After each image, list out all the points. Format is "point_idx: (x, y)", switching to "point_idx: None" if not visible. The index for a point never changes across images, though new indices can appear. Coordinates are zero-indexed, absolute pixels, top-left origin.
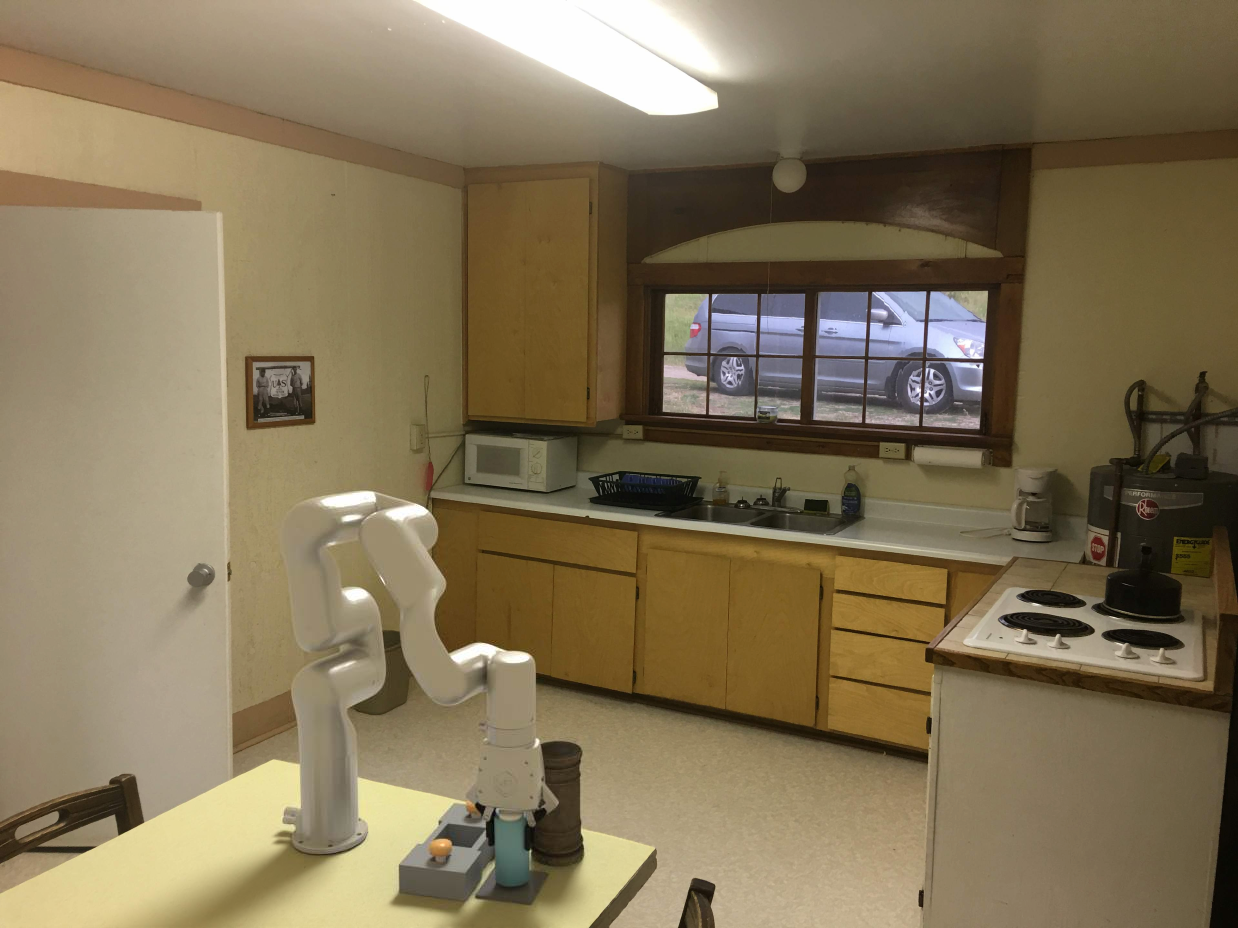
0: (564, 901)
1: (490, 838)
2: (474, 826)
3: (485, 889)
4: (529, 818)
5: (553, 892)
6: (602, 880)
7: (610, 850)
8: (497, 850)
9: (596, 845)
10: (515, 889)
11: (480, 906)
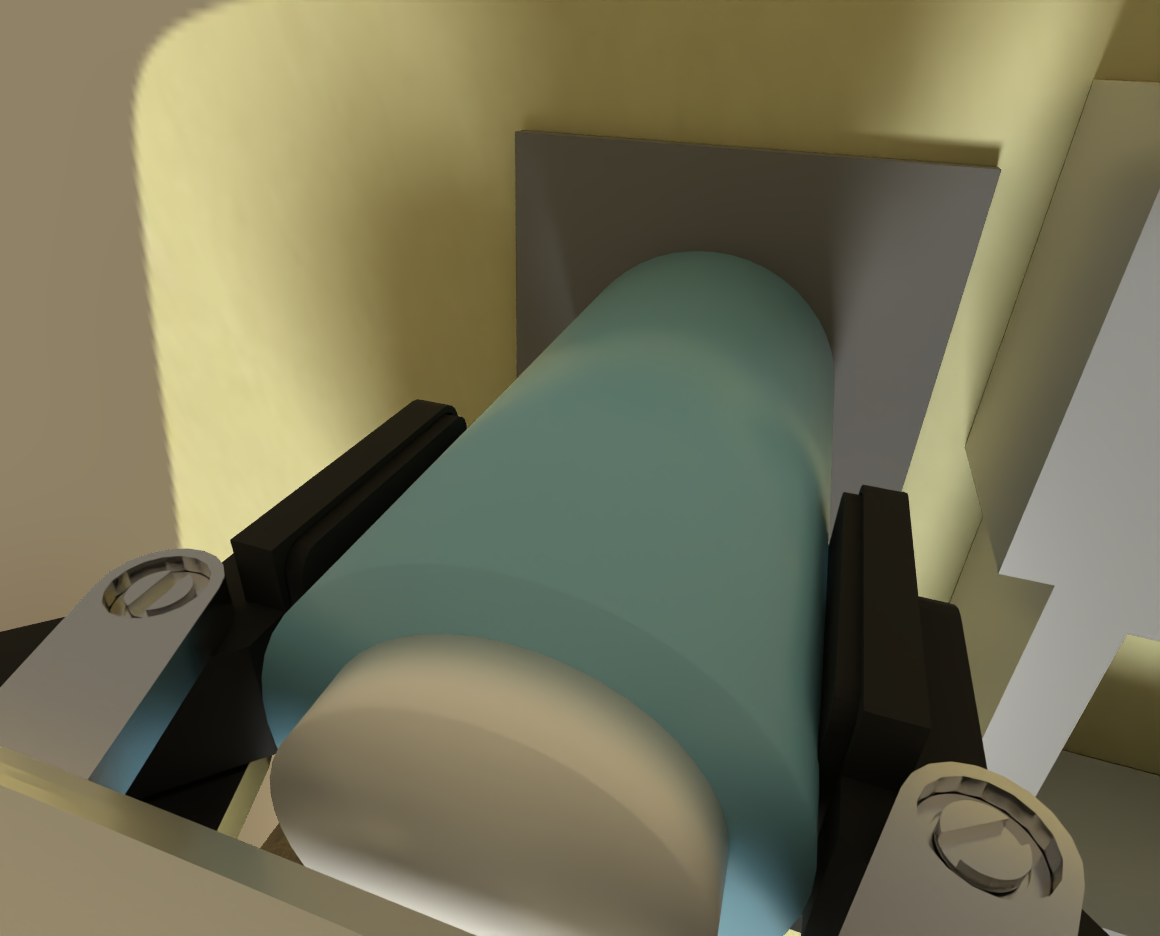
0: (341, 209)
1: (875, 534)
2: (1105, 925)
3: (909, 265)
4: (127, 636)
5: (435, 305)
6: (253, 441)
7: None
8: (772, 410)
9: None
10: None
11: (926, 15)
